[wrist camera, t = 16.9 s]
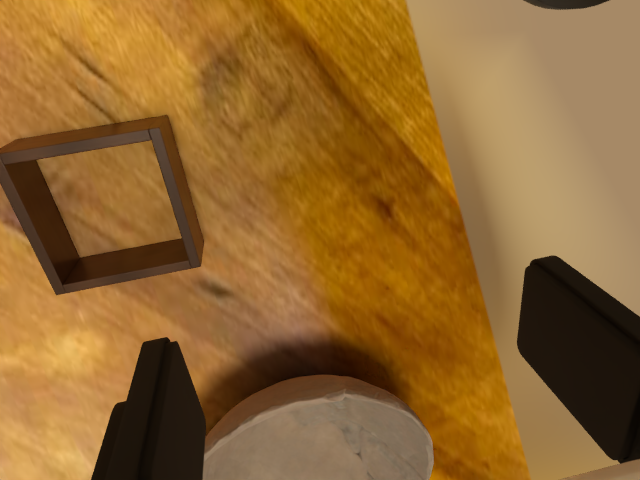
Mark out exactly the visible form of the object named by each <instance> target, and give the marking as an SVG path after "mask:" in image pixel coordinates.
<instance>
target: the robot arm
mask: <svg viewBox="0 0 640 480" xmlns="http://www.w3.org/2000/svg"><path fill="white" fill-rule="evenodd" d="M517 346H518V349H519V352H520V354H521V355H522V357H524V359H525V360H526V361H527V362H528V363H529V365H530V366H531V367H532V368H533V369H534V370H535V372H536V373H537V374H538V375H539V376H540V377H541V379H542V380H543V381H544V382H545V383H546V385H547V386H548V387H549V388H550V389H551V390H552V392H553V393H554V394H555V395H556V396H557V397H558V399H559V400H560V401H561V402H562V403H563V404H564V405H565V407H566V408H567V409H568V410H569V411H570V413H571V414H572V415H573V416H574V417H575V418H576V420H577V421H578V422H579V423H580V424H581V425H582V427H583V428H584V429H585V430H586V431H587V432H588V434H589V435H590V436H591V437H592V438H593V439H594V441H595V442H596V443H597V444H598V445H599V446H600V448H601V449H602V450H603V451H604V452H605V453H606V455H607V456H608V457H610V458H611V459H613V460H618V462H619V463H620V464H617V465H614V466H610V467H606V468H602V469H598V470H595V471H590V472H587V473H583V474H579V475H575V476H571V477H567V478H564V479H560V480H640V317H639V316H638V315H636V314H635V313H634V312H632V311H631V310H630V309H628V308H627V307H626V306H624V305H623V304H621V303H620V302H619V301H617V300H616V299H615V298H613V297H612V296H610V295H609V294H608V293H607V292H605V291H604V290H602V289H601V288H600V287H598V286H597V285H596V284H594V283H593V282H591V281H590V280H589V279H587V278H586V277H585V276H583V275H582V274H581V273H579V272H578V271H577V270H575V269H574V268H572V267H571V266H570V265H568V264H567V263H566V262H564V261H563V260H562V259H560V258H559V257H557V256H549V257H544V258H539V259H534V260H532V261H531V263H530V266H528V267H527V268H526V269H525V275H524V284H523V294H522V302H521V311H520V320H519V330H518V338H517ZM205 435H206V422H205V416H204V413H203V410H202V407H201V405H200V402H199V399H198V396H197V394H196V391H195V388H194V385H193V383H192V380H191V377H190V374H189V372H188V369H187V366H186V363H185V360H184V358H183V355H182V352H181V349H180V347H179V344H178V342H177V341H174V342H170V340H169V339H168V338H167V337H165V338H160V339H155V340H151V341H146V342H144V343H143V344H142V347H141V350H140V354H139V358H138V361H137V365H136V368H135V372H134V376H133V379H132V383H131V386H130V390H129V394H128V397H127V401H124V402H120V403H117V404H116V405H115V406H114V408H113V410H112V413H111V416H110V420H109V423H108V426H107V429H106V433H105V436H104V439H103V443H102V446H101V449H100V452H99V456H98V459H97V462H96V465H95V469H94V472H93V475H92V478H91V480H203V466H204V450H205Z"/></svg>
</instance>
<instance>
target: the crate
mask: <svg viewBox="0 0 640 480" xmlns="http://www.w3.org/2000/svg"><path fill="white" fill-rule="evenodd" d="M150 140H152V143H153V146H154V150H155V153H156V156H157V159H158V162H159V166H160V169H161V172H162V175H163V178H164V182H165V185H166V188H167V191H168V194H169V198H170V201H171V204H172V207H173V211H174V214H175V217H176V220H177V223H178V227H179V230H180V233H181V236H182V239H178V240H173V241H167V242H162V243H157V244H152V245H146V246H141V247H136V248H131V249H125V250H120V251H115V252H110V253H104V254H99V255H94V256H89V257H83V258H79V256H78V254H77V252H76V249H75V247H74V245H73V243H72V240H71V238H70V236H69V234H68V231H67V229H66V227H65V225H64V223H63V220H62V218H61V216H60V214H59V211H58V209H57V207H56V205H55V202H54V200H53V198H52V196H51V193H50V191H49V189H48V187H47V185H46V182H45V180H44V178H43V176H42V173H41V171H40V169H39V167H38V164H37V162H36V160H37V159H43V158H49V157H55V156H61V155H66V154H72V153H78V152H84V151H90V150H96V149H102V148H108V147H114V146H120V145H126V144H132V143H138V142H144V141H150ZM0 184H1V186H2V188H3V190H4V192H5V194H6V196H7V198H8V200H9V202H10V204H11V206H12V208H13V210H14V212H15V214H16V216H17V218H18V220H19V222H20V224H21V226H22V228H23V230H24V232H25V234H26V236H27V238H28V240H29V242H30V244H31V246H32V248H33V250H34V252H35V254H36V256H37V258H38V260H39V262H40V264H41V266H42V268H43V270H44V272H45V274H46V276H47V278H48V280H49V282H50V284H51V286H52V288H53V290H54V292H55V294H56V295H60V294H65V293H70V292H75V291H80V290H85V289H90V288H95V287H100V286H105V285H110V284H115V283H120V282H125V281H130V280H136V279H141V278H146V277H151V276H156V275H161V274H166V273H171V272H176V271H181V270H186V269H191V268H196V267H200V266H201V261H202V254H203V246H204V240H203V237H202V233H201V230H200V226H199V223H198V219H197V216H196V212H195V209H194V205H193V202H192V198H191V195H190V191H189V188H188V184H187V181H186V177H185V174H184V170H183V167H182V163H181V160H180V156H179V153H178V149H177V146H176V142H175V139H174V135H173V132H172V128H171V125H170V122H169V118H168V115H165V116H159V117H153V118H147V119H140V120H134V121H128V122H122V123H116V124H110V125H104V126H97V127H91V128H85V129H79V130H73V131H67V132H61V133H54V134H48V135H42V136H36V137H30V138H24V139H18V140H14V141H13V142H11V143H9V144H7V145H6V146H4V147H2V148H0Z"/></svg>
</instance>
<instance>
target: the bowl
mask: <svg viewBox="0 0 640 480" xmlns="http://www.w3.org/2000/svg"><path fill="white" fill-rule="evenodd" d="M433 463H434V456H433V444H432V440H431V437H430V435H429V433H428V431H427V429H426V428H425V426H424V425H423V424H422V422H421V421H420V419H419V418H418V417H417V415H416V414H415V413H414V411H413V410H412V409H411V408H410V407H409V406H408V405H407V404H405V403H404V402H403V401H402V400H400V399H399V398H397V397H396V396H394V395H393V394H391V393H389V392H388V391H387V390H383V389H381V388H379V387H376V386H374V385H371V384H369V383H367V382H364V381H362V380H359V379H355V378H352V377H347V376H337V375H336V376H335V375H311V376H302V377H297V378H292V379H288V380H284V381H281V382H278V383H276V384H274V385H271V386H269V387H267V388H265V389H263V390H260V391H258V392H256V393H254V394H252V395H251V396H249V397H248V398H246V399H244V400H243V401H241V402H240V403H239V404H237V405H236V406H235V407H234V408H232V409H231V410H230V411H228V412H227V413H226V414H225V415H224V416H223V418H222V419H221V420H220V421H219V422H218V423H217V424H216V425H215V426H214V427H213V428H212V430H211V431H210V432H209V433H208V435H207V436H206V437H205V450H204V466H203V480H429V478H430V476H431V473H432V468H433Z"/></svg>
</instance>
